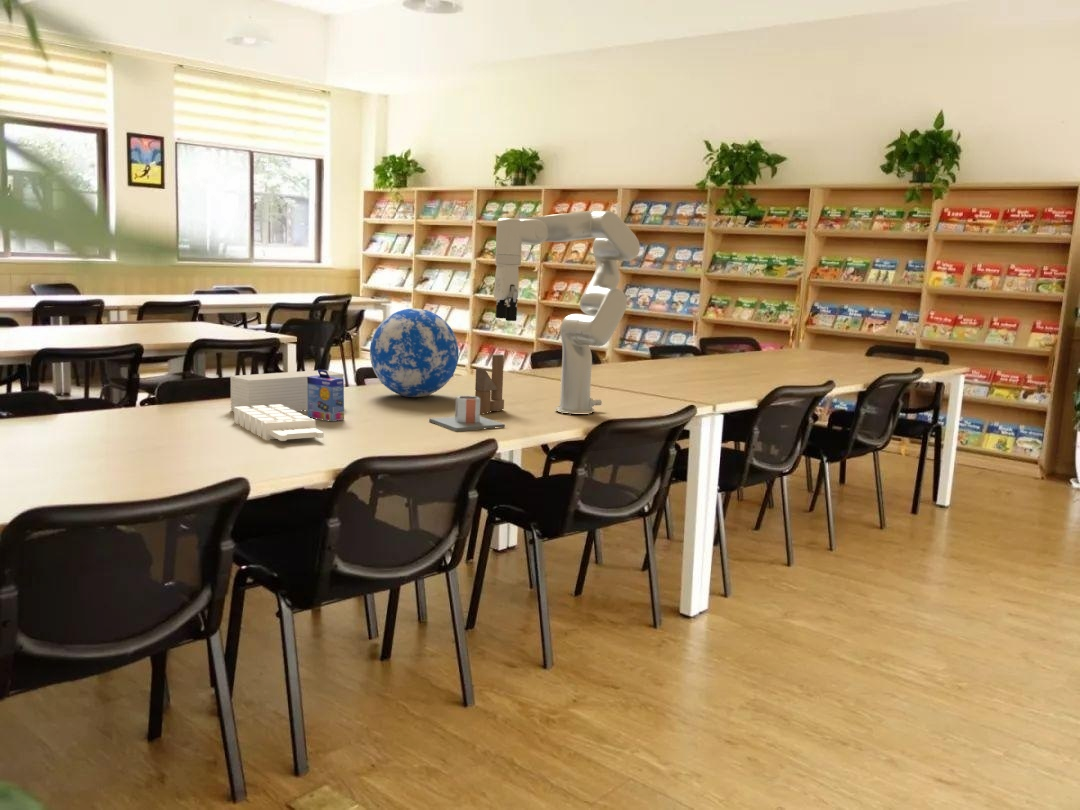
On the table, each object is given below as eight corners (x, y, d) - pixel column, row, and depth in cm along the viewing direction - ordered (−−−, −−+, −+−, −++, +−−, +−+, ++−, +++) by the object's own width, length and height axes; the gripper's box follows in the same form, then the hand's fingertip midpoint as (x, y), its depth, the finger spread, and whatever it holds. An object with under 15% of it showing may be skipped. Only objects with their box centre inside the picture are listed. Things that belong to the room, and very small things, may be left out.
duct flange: (476, 418, 286) (477, 398, 285) (504, 427, 273) (505, 407, 272) (429, 421, 277) (429, 401, 276) (456, 431, 264) (456, 410, 263)
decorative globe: (359, 391, 329) (360, 304, 325) (440, 389, 342) (443, 306, 337) (382, 405, 303) (384, 311, 298) (469, 402, 315) (472, 312, 310)
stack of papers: (248, 417, 273) (248, 380, 271) (230, 411, 280) (230, 375, 279) (343, 408, 295) (343, 373, 294) (324, 403, 303) (324, 369, 301)
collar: (453, 419, 277) (454, 395, 276) (475, 419, 279) (476, 395, 278) (459, 423, 271) (459, 399, 270) (481, 423, 273) (482, 399, 272)
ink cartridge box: (305, 417, 275) (306, 368, 272) (319, 415, 279) (319, 366, 277) (331, 422, 270) (331, 371, 267) (344, 419, 274) (345, 370, 272)
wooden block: (474, 413, 296) (476, 355, 293) (495, 409, 304) (497, 353, 301) (483, 414, 293) (485, 356, 291) (504, 410, 302) (506, 354, 299)
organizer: (280, 404, 270) (327, 425, 241) (280, 420, 270) (327, 444, 242) (234, 406, 262) (277, 429, 234) (234, 423, 263) (277, 448, 235)
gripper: (487, 260, 285) (485, 317, 287) (504, 261, 268) (502, 321, 271) (511, 260, 287) (509, 317, 290) (529, 262, 271) (527, 322, 274)
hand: (506, 319), depth 280 cm, fingers open, 9 cm apart
